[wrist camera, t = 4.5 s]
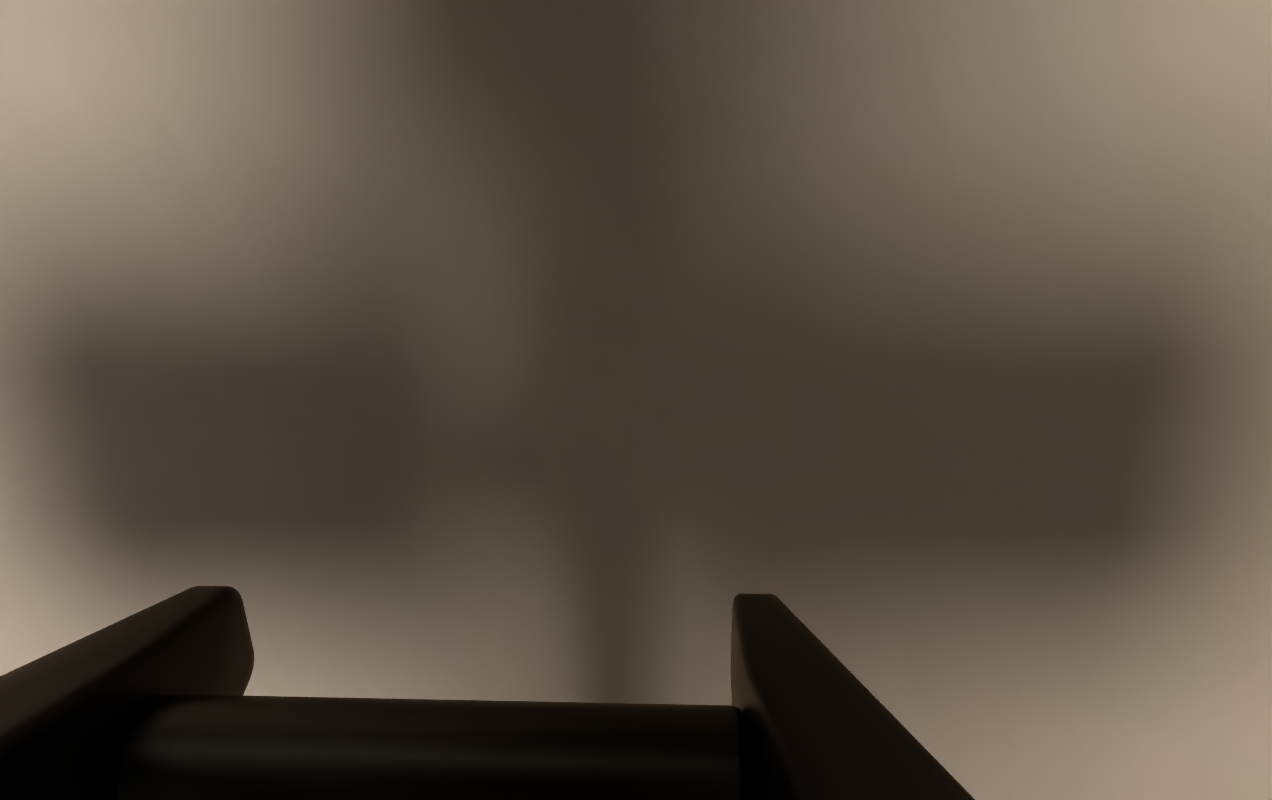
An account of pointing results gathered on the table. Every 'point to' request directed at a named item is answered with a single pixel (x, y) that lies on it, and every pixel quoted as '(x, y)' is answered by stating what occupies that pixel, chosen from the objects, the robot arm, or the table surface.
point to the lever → (429, 750)
